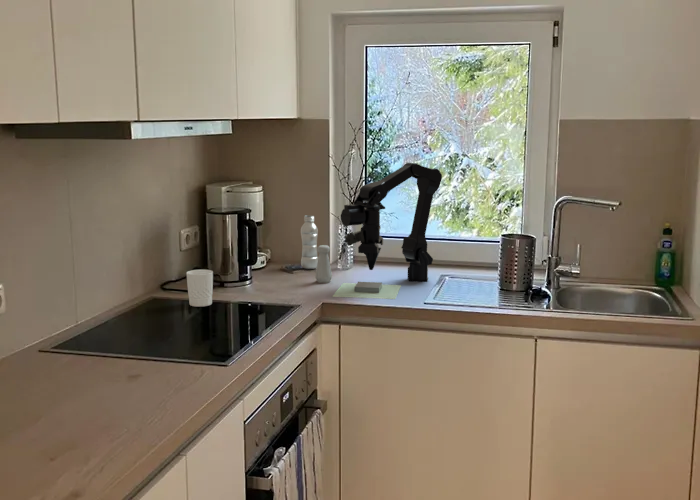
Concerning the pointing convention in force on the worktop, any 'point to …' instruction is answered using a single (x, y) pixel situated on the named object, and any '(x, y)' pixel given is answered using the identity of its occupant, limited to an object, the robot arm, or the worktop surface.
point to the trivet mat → (384, 293)
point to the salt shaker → (323, 265)
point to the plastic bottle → (309, 243)
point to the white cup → (200, 287)
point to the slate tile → (368, 287)
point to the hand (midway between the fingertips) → (371, 269)
